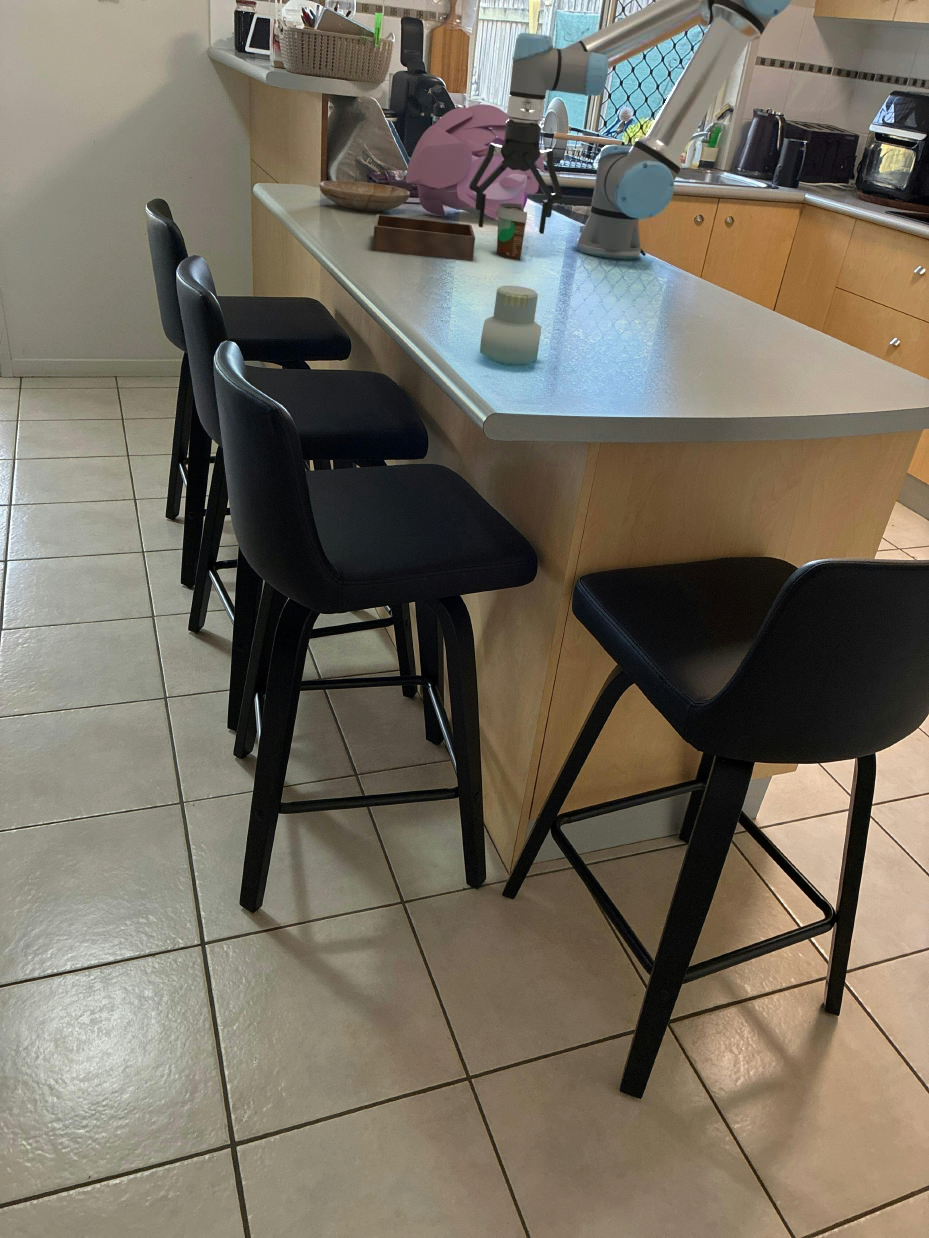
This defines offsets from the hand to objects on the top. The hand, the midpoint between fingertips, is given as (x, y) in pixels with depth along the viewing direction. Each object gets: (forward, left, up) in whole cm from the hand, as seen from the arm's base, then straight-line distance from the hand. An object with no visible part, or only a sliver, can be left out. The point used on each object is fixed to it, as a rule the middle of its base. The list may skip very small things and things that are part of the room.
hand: (510, 230), depth 201 cm
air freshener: (+7, +82, -6) cm, 82 cm away
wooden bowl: (+34, -44, -6) cm, 56 cm away
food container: (+1, 0, -6) cm, 6 cm away
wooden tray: (+19, +4, -5) cm, 20 cm away
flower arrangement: (+5, -48, -6) cm, 49 cm away
